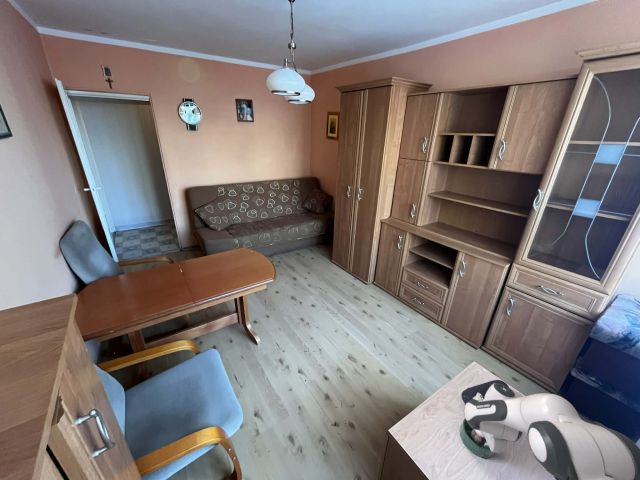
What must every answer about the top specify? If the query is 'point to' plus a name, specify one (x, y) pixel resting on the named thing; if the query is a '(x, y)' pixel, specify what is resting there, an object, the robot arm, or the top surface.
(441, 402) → the top surface
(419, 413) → the top surface
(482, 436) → the pill bottle
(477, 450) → the bowl
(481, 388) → the portable speaker
